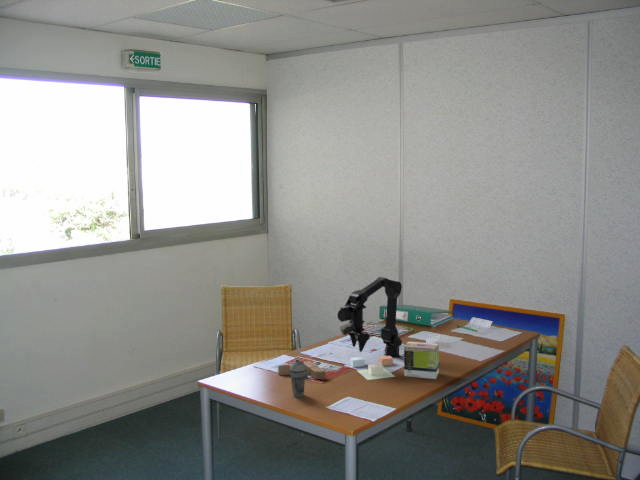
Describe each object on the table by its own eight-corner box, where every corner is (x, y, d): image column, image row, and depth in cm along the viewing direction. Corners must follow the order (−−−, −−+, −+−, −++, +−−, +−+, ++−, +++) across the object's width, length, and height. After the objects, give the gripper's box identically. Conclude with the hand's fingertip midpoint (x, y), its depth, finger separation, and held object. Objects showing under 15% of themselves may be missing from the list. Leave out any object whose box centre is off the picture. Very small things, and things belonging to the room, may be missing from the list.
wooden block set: (309, 358, 306) (326, 368, 291) (309, 369, 307) (326, 380, 291) (277, 363, 299) (293, 374, 283) (277, 374, 299) (293, 386, 284)
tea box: (439, 373, 298) (439, 342, 296) (435, 380, 288) (436, 348, 287) (407, 370, 303) (407, 340, 301) (403, 376, 293) (403, 346, 292)
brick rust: (389, 363, 313) (389, 355, 313) (393, 365, 310) (393, 358, 309) (378, 364, 312) (378, 356, 311) (381, 367, 308) (381, 359, 307)
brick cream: (379, 371, 300) (379, 363, 299) (383, 374, 296) (383, 365, 296) (368, 372, 298) (368, 364, 298) (371, 375, 294) (371, 367, 294)
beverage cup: (289, 392, 275) (288, 348, 272) (306, 391, 275) (305, 347, 273) (290, 398, 267) (289, 353, 265) (307, 398, 268) (306, 352, 266)
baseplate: (383, 368, 306) (383, 367, 306) (395, 377, 293) (395, 376, 293) (356, 371, 302) (356, 370, 302) (367, 380, 288) (367, 379, 288)
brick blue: (361, 364, 312) (361, 356, 312) (364, 367, 308) (364, 359, 308) (350, 365, 310) (350, 358, 310) (352, 368, 306) (352, 360, 306)
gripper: (335, 315, 313) (335, 345, 315) (348, 324, 295) (348, 356, 297) (356, 313, 316) (356, 343, 318) (370, 322, 298) (370, 353, 300)
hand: (357, 349), depth 308 cm, fingers open, 9 cm apart
